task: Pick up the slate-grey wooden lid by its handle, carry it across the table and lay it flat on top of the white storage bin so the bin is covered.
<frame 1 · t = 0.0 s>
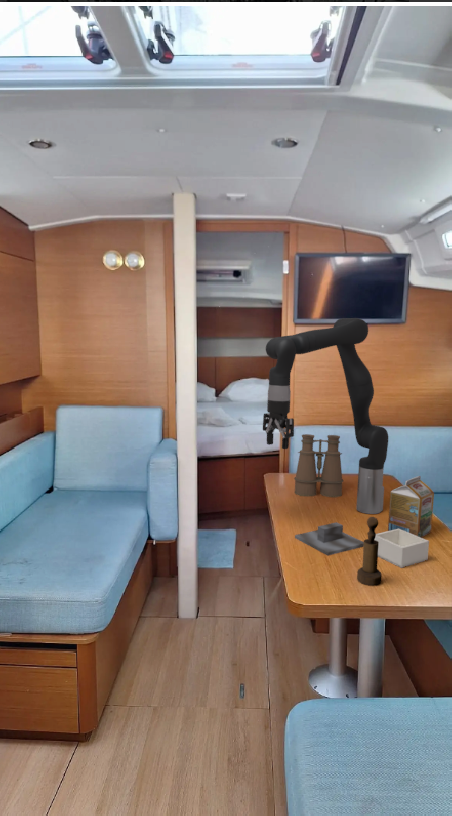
hand: (277, 446, 178), 29 cm above the table, tool pointing down, fingers open, 8 cm apart
binoculars: (318, 494, 226), on the table
white storage bin: (399, 556, 162), on the table
milk carton: (409, 532, 184), on the table
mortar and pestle: (368, 580, 146), on the table
lid: (329, 543, 173), on the table
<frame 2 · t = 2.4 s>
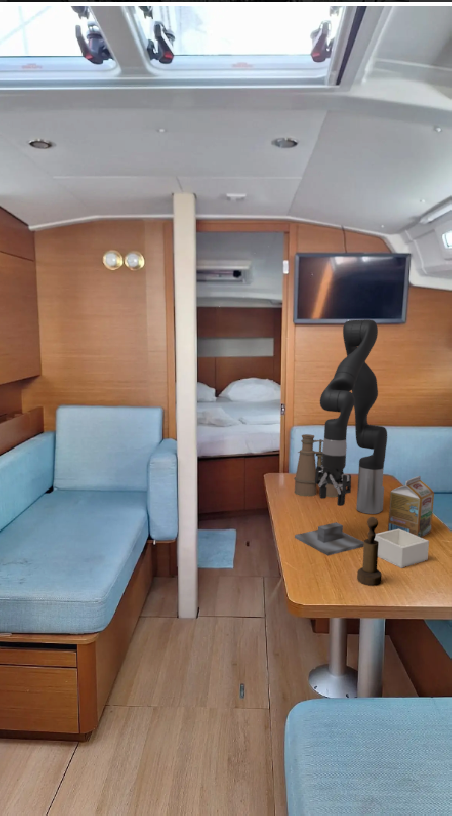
hand: (331, 501, 171), 14 cm above the table, tool pointing down, fingers open, 8 cm apart
nothing on the table moved.
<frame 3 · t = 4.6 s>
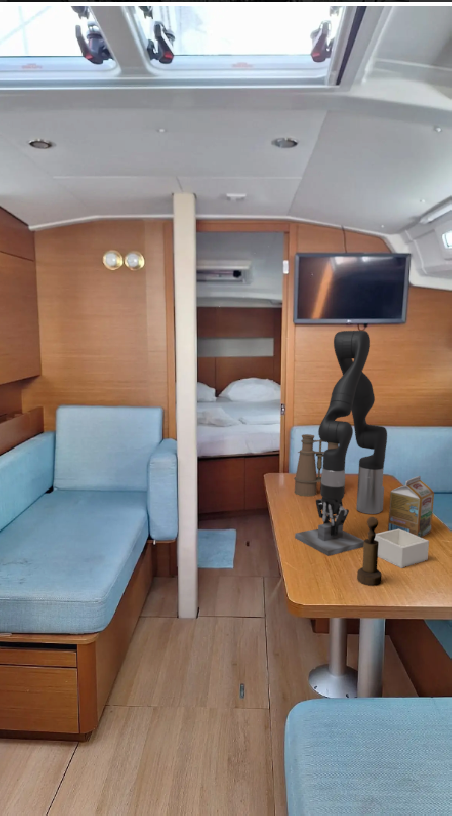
hand: (330, 533, 172), 3 cm above the table, tool pointing down, fingers closed on lid, 3 cm apart
lid: (329, 542, 173), on the table, touching gripper
everything else where it was.
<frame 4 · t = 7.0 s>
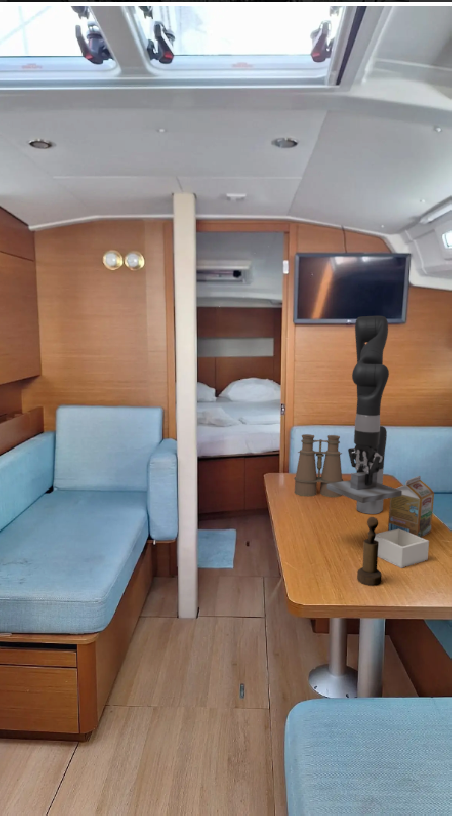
hand: (363, 483, 165), 21 cm above the table, tool pointing down, fingers closed on lid, 3 cm apart
lid: (363, 492, 165), point 18 cm above the table, touching gripper
everything else where it was.
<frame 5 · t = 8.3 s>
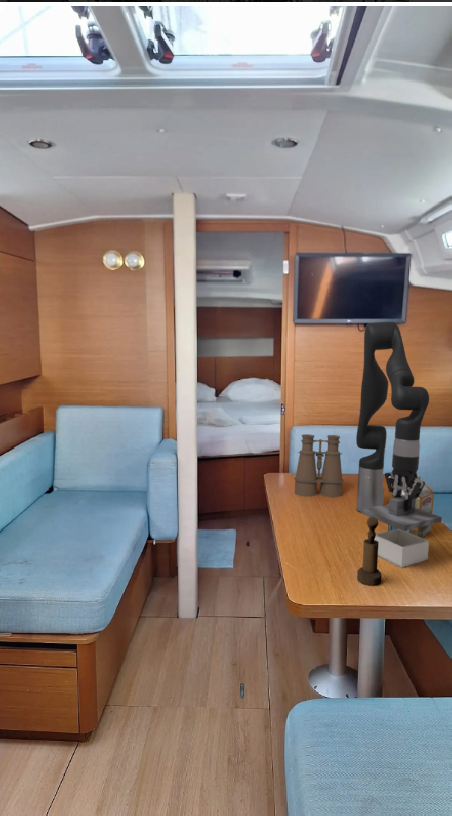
hand: (402, 509, 160), 15 cm above the table, tool pointing down, fingers closed on lid, 3 cm apart
lid: (401, 518, 160), point 12 cm above the table, touching gripper
everything else where it was.
when the fingers open (10 cm above the table, at t = 9.5 s): lid drops 1 cm, resting on white storage bin.
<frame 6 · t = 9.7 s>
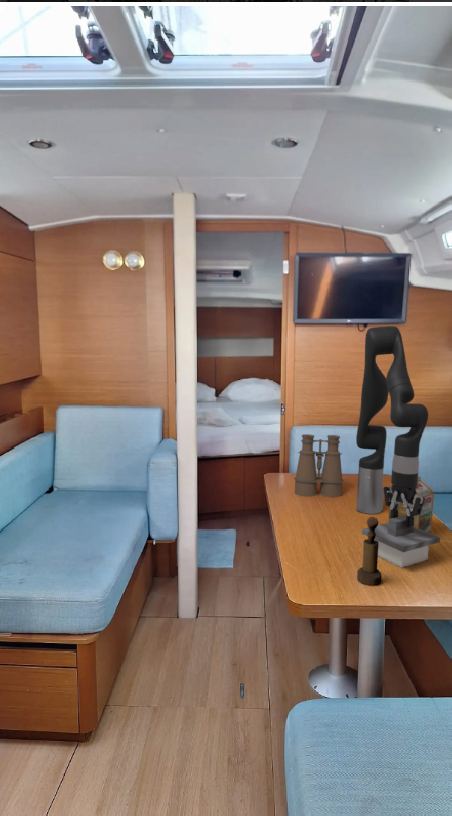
hand: (401, 524, 161), 10 cm above the table, tool pointing down, fingers open, 5 cm apart
lid: (400, 537, 161), point 6 cm above the table, touching white storage bin
everything else where it was.
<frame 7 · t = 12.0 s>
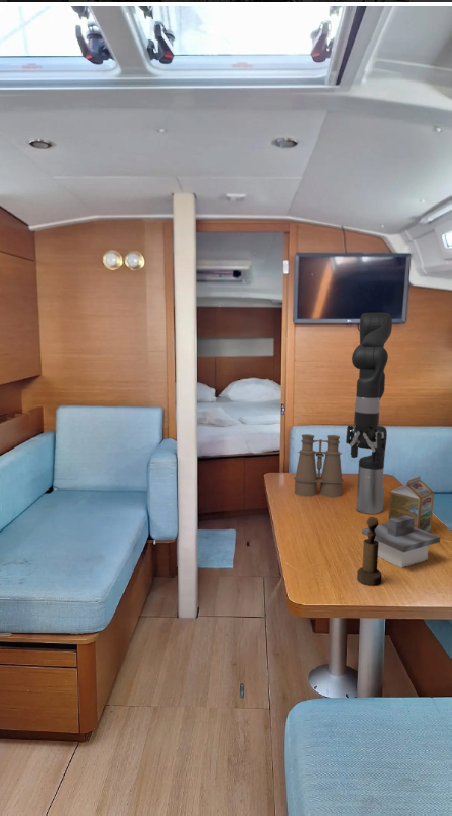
hand: (364, 460, 170), 27 cm above the table, tool pointing down, fingers open, 8 cm apart
nothing on the table moved.
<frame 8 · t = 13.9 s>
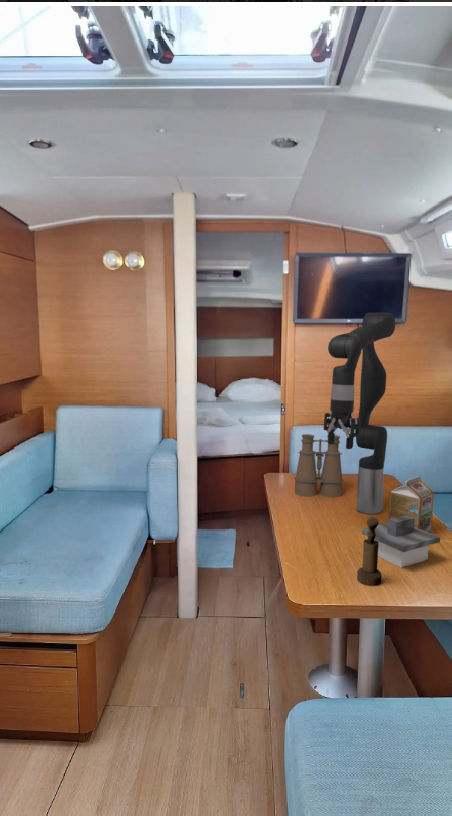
hand: (339, 446, 176), 30 cm above the table, tool pointing down, fingers open, 8 cm apart
nothing on the table moved.
at the end: lid 0.0 cm off-centre on the white storage bin, point 6.0 cm above the white storage bin's base; lid tilted 0°; the gripper is holding nothing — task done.
